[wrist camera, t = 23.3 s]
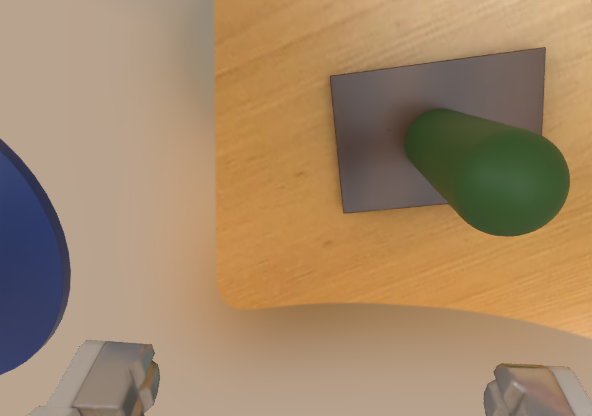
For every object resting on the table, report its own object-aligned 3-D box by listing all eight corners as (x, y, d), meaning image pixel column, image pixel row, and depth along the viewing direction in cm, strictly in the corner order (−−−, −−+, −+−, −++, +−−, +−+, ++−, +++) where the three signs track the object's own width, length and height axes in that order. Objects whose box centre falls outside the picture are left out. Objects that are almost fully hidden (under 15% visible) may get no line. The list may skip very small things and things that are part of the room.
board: (343, 208, 33) (343, 213, 31) (330, 76, 30) (329, 76, 28) (530, 190, 31) (539, 195, 30) (535, 48, 28) (546, 47, 27)
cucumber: (406, 177, 30) (466, 258, 16) (403, 112, 29) (465, 142, 15) (472, 170, 29) (590, 248, 16) (472, 104, 28) (601, 128, 15)
